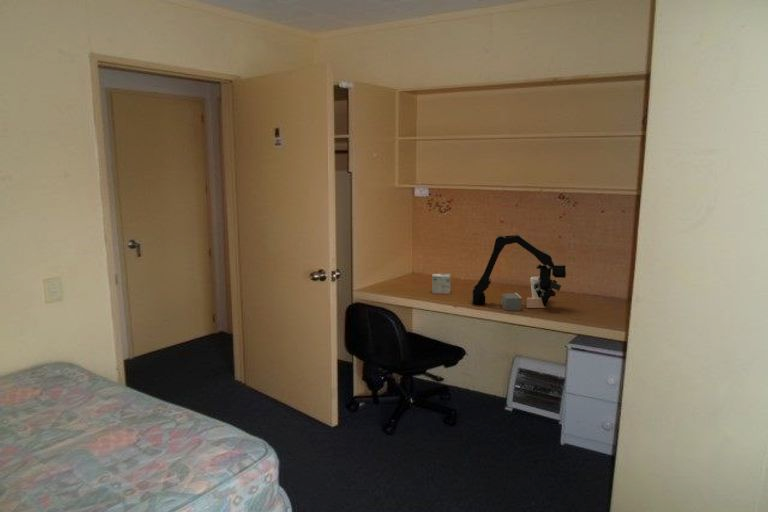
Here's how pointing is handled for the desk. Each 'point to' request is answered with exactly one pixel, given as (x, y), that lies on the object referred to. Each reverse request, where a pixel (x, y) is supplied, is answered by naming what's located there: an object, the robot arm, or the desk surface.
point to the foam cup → (533, 281)
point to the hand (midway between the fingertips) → (543, 305)
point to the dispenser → (511, 302)
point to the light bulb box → (441, 283)
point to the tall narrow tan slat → (534, 303)
